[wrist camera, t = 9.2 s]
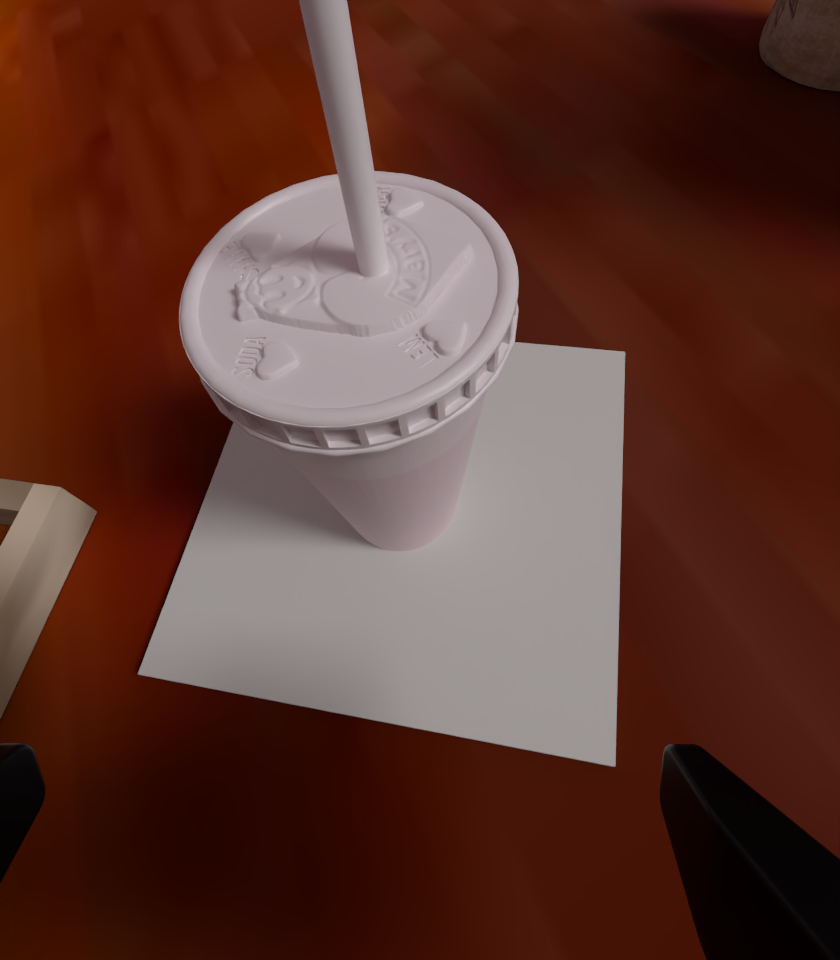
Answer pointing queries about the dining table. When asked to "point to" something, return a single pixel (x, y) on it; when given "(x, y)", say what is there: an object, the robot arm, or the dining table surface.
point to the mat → (427, 579)
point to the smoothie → (357, 320)
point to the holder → (33, 566)
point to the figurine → (804, 42)
